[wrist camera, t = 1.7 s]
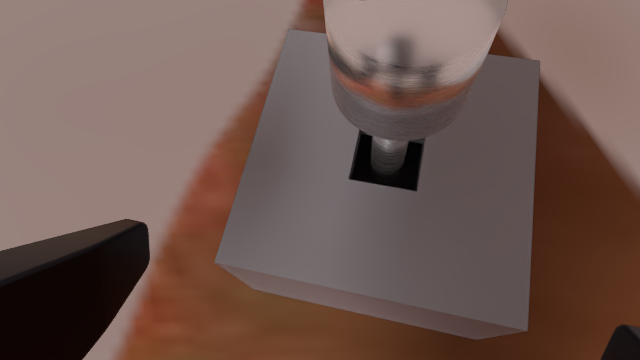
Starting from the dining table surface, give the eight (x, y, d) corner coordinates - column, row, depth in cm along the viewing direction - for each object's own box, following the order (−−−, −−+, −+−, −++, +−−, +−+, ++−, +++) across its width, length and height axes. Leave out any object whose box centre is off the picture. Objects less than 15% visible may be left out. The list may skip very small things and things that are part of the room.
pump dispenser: (480, 341, 18) (534, 332, 13) (253, 289, 20) (214, 262, 14) (498, 136, 22) (545, 61, 16) (304, 106, 24) (288, 29, 18)
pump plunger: (426, 221, 16) (501, 76, 8) (330, 203, 16) (304, 49, 8) (439, 135, 17) (513, -66, 9) (349, 121, 17) (342, -81, 9)
